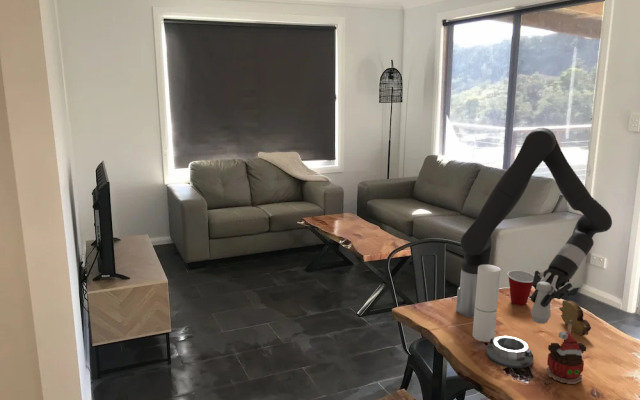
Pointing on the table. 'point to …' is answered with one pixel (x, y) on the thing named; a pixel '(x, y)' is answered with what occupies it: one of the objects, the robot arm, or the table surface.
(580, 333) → the wooden carving
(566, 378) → the cake
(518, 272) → the plastic cup
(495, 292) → the cylindrical container
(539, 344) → the table surface
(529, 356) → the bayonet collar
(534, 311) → the salt shaker
